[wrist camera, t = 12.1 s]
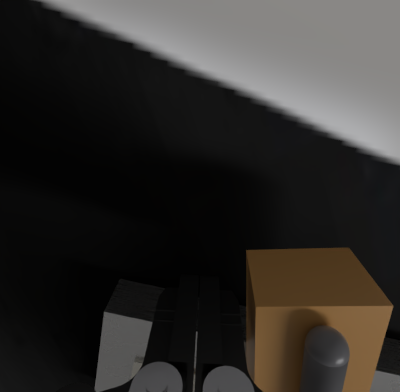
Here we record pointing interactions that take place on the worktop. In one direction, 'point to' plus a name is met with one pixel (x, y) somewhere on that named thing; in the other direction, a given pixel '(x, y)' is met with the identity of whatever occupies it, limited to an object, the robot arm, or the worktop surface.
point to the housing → (140, 330)
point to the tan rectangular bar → (312, 320)
